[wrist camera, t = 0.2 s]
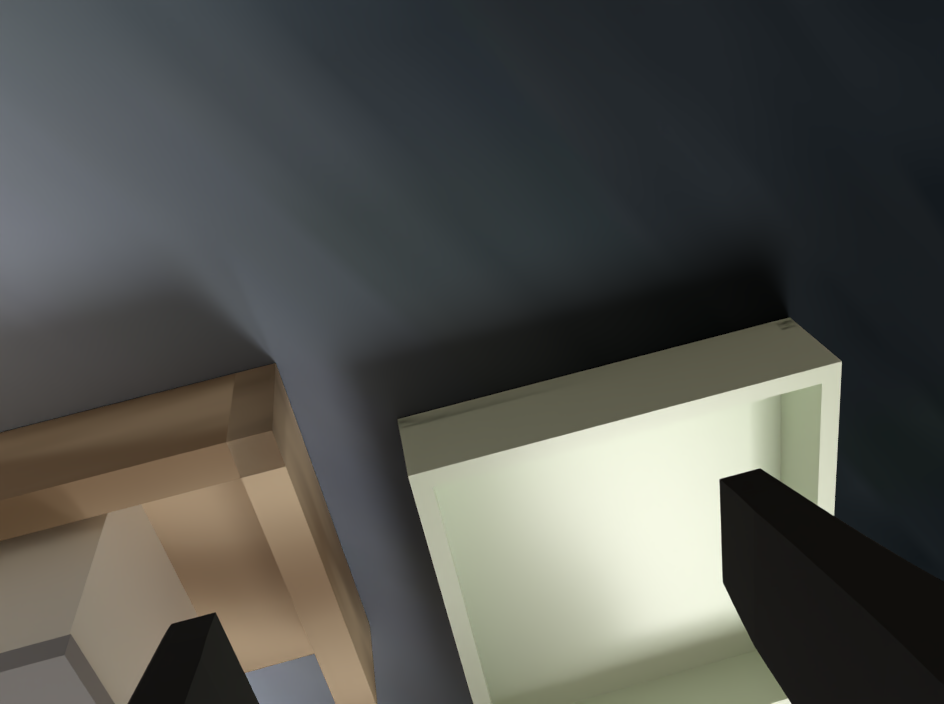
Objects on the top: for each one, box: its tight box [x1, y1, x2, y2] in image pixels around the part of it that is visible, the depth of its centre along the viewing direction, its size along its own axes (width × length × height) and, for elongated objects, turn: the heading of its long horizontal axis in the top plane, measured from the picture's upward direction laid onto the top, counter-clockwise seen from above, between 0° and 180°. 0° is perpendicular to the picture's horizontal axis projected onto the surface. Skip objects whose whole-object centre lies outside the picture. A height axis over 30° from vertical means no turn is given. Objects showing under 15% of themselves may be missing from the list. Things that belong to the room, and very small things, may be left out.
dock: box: [0, 363, 377, 704], centre depth 21 cm, size 10×13×3 cm
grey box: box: [0, 504, 198, 704], centre depth 19 cm, size 8×5×6 cm, turn 11°
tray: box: [397, 317, 842, 704], centre depth 24 cm, size 13×11×2 cm
